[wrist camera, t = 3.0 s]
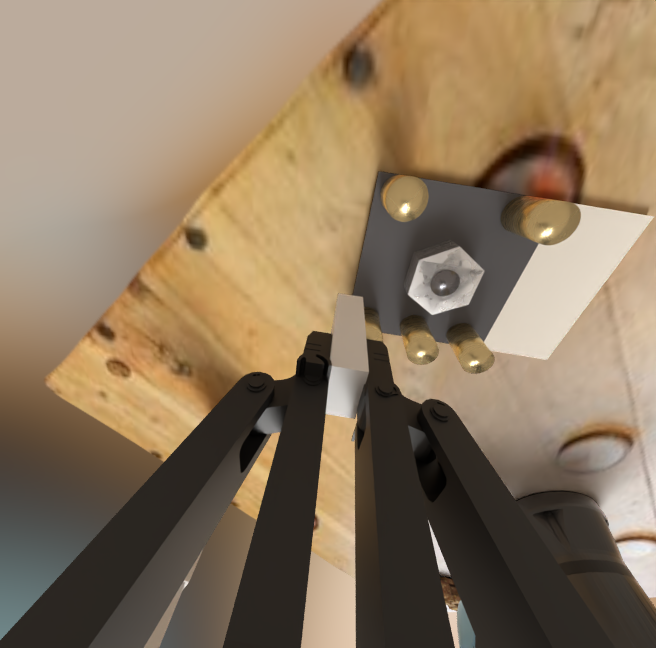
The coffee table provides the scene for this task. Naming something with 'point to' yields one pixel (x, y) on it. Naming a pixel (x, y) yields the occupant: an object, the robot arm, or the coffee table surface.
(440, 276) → the nut
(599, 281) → the mat
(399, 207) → the spacers
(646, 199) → the coffee table surface
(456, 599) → the sculpture
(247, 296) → the coffee table surface
